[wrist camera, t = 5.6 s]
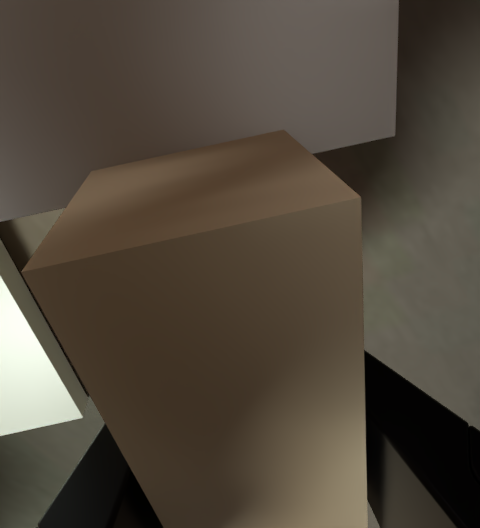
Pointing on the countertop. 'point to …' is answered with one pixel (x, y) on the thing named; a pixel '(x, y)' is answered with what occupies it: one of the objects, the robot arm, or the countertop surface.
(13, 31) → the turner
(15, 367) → the board
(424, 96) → the countertop surface
